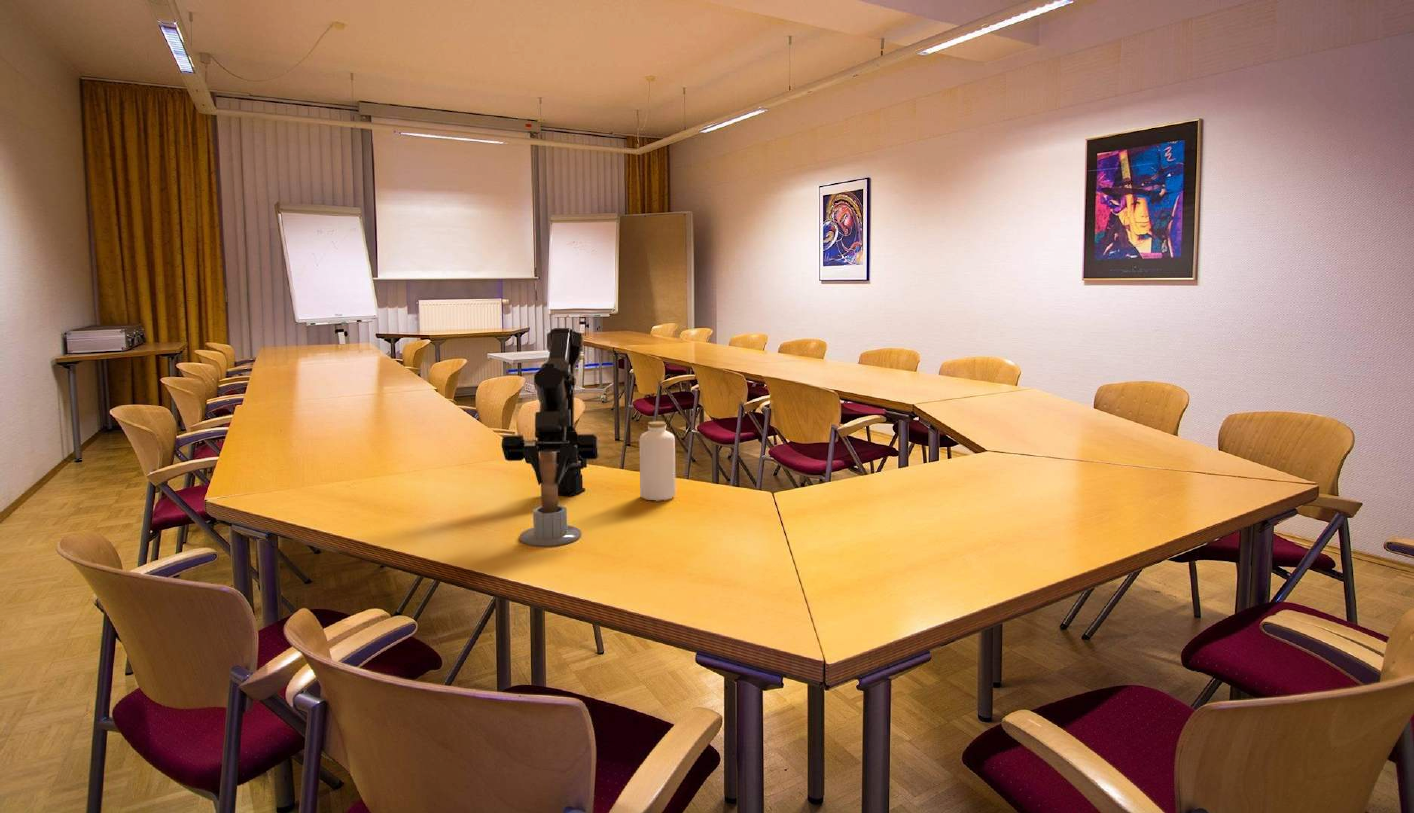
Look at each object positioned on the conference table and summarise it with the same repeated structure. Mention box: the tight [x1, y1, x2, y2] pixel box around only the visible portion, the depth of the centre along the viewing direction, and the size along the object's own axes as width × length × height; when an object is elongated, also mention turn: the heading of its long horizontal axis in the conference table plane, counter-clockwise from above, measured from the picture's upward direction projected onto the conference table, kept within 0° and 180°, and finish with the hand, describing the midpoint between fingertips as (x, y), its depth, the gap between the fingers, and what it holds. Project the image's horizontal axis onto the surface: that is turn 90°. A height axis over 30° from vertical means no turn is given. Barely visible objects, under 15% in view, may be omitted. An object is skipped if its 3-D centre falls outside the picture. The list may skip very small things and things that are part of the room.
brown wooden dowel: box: [539, 451, 559, 513], centre depth 153 cm, size 3×3×12 cm
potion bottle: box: [638, 420, 676, 502], centre depth 182 cm, size 8×8×18 cm
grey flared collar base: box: [519, 504, 582, 548], centre depth 154 cm, size 12×12×6 cm
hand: (548, 483), depth 152 cm, fingers closed on brown wooden dowel, 3 cm apart
